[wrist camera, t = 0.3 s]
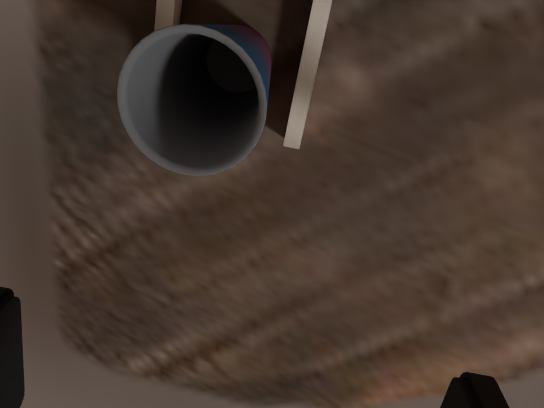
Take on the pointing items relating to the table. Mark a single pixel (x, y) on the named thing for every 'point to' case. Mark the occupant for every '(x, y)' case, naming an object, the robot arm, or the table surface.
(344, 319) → the table surface
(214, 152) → the cup
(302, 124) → the track
